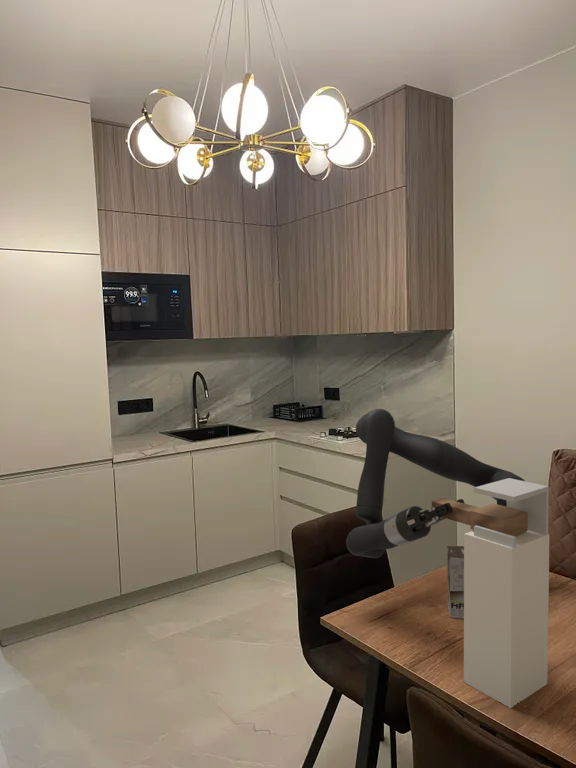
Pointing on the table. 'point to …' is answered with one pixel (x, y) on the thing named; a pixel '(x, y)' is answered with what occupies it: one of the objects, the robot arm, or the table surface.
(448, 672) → the table surface
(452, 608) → the coffee box
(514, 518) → the wooden plank block
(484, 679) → the stand
